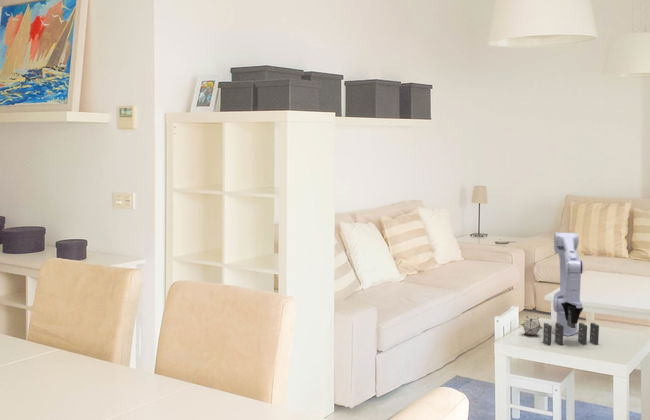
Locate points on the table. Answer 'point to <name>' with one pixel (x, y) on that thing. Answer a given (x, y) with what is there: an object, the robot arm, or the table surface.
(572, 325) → the domino
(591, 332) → the domino
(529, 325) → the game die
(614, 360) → the table surface
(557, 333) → the domino
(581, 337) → the domino
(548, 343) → the domino
